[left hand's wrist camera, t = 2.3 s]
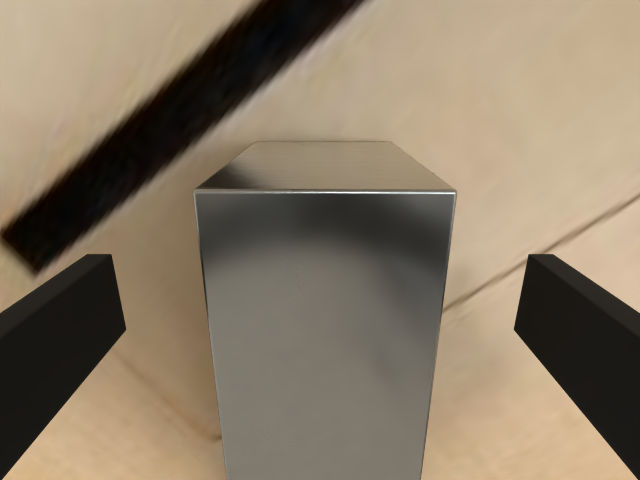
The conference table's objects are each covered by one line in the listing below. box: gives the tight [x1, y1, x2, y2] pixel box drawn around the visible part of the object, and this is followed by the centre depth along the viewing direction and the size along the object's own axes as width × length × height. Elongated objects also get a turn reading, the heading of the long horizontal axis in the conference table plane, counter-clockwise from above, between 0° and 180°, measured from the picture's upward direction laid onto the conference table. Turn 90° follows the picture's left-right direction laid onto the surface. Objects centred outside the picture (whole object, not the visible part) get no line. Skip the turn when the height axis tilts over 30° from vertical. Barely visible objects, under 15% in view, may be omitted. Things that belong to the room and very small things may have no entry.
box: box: [193, 142, 457, 480], centre depth 16 cm, size 22×6×9 cm, turn 0°
